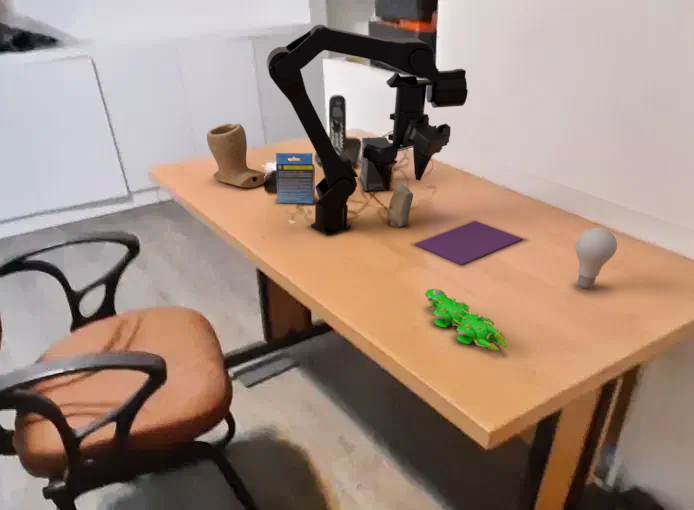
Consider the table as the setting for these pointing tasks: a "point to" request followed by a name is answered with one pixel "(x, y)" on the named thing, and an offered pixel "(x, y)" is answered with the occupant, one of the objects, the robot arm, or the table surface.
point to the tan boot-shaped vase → (232, 156)
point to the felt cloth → (468, 242)
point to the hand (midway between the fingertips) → (402, 185)
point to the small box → (370, 169)
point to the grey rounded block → (400, 206)
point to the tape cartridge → (295, 178)
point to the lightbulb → (593, 254)
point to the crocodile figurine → (464, 321)
